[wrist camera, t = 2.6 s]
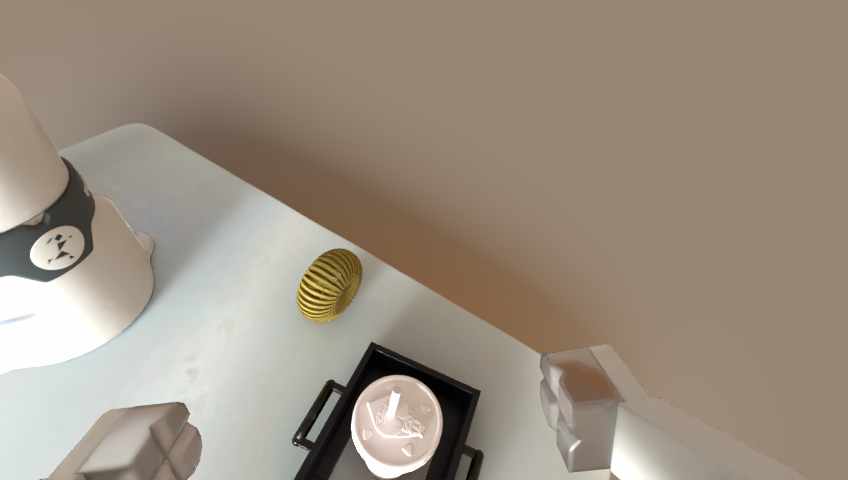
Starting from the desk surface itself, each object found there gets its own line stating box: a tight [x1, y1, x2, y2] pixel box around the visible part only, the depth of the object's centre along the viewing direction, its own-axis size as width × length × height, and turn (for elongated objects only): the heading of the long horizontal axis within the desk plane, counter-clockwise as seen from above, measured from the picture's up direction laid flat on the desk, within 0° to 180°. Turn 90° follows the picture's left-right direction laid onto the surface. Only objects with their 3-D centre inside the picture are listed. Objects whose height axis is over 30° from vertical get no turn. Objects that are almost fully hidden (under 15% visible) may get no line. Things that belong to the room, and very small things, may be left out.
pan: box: [292, 342, 484, 480], centre depth 33 cm, size 15×15×3 cm
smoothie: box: [351, 375, 443, 480], centre depth 29 cm, size 6×6×14 cm
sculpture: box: [297, 249, 362, 323], centre depth 41 cm, size 8×4×8 cm, turn 150°
